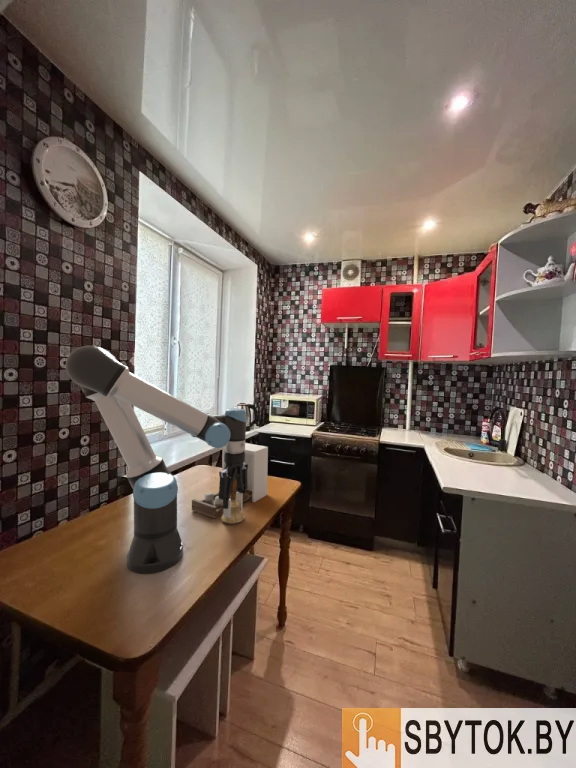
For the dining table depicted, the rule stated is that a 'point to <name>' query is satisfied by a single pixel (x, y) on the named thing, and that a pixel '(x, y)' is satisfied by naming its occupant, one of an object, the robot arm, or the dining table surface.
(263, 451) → the white upright box
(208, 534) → the dining table surface
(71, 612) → the dining table surface
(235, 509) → the hand bell
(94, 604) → the dining table surface
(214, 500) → the tray
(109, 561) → the dining table surface
